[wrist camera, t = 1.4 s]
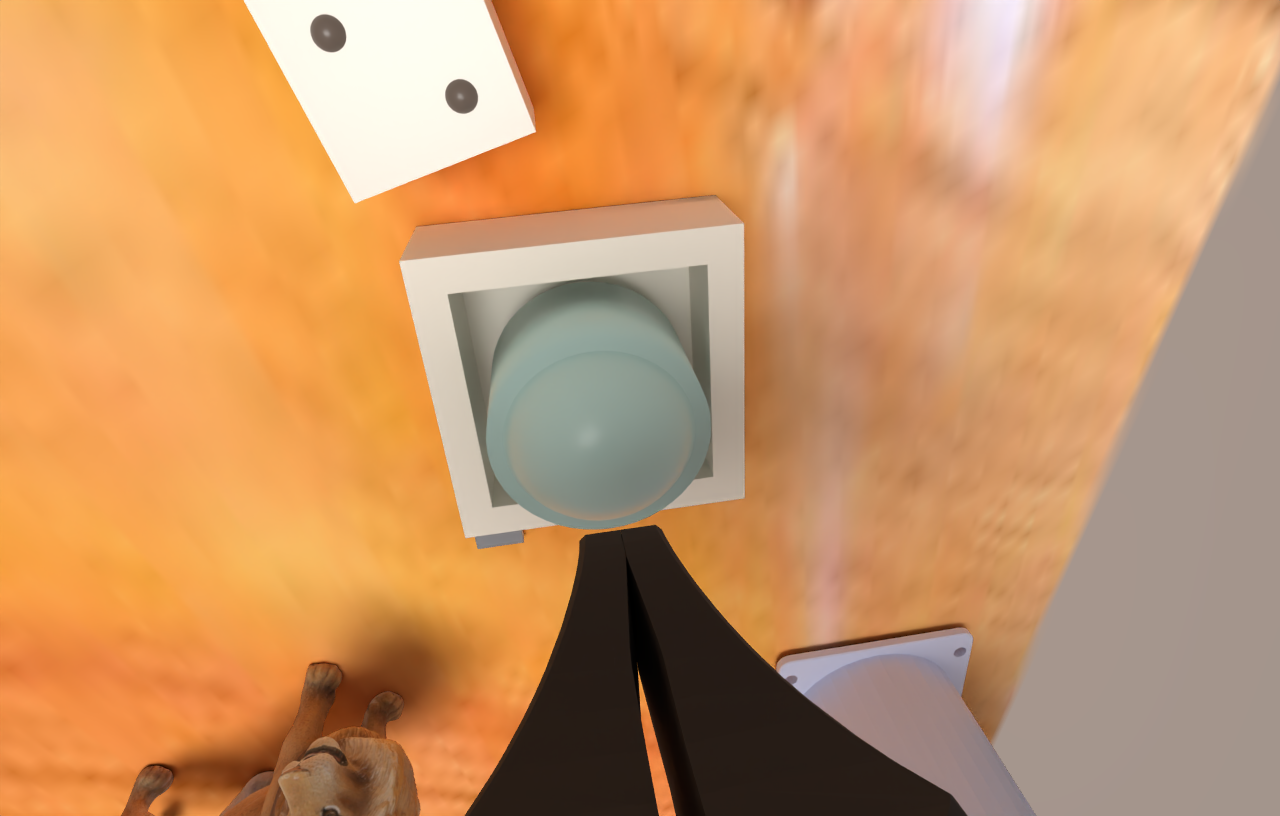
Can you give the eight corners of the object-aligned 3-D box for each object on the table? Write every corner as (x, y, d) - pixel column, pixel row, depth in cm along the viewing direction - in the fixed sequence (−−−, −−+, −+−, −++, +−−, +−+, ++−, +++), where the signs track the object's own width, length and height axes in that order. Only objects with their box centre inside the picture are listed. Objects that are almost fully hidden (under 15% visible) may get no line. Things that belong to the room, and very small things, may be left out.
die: (533, 108, 18) (536, 133, 15) (386, 166, 18) (352, 205, 15) (462, -73, 16) (444, -96, 13) (299, -6, 17) (235, -9, 13)
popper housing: (720, 444, 24) (744, 498, 21) (471, 478, 23) (465, 538, 20) (715, 195, 20) (743, 223, 17) (416, 226, 19) (399, 261, 17)
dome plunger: (687, 441, 21) (728, 551, 17) (508, 465, 21) (504, 585, 17) (678, 270, 19) (725, 349, 15) (475, 294, 18) (460, 382, 14)
